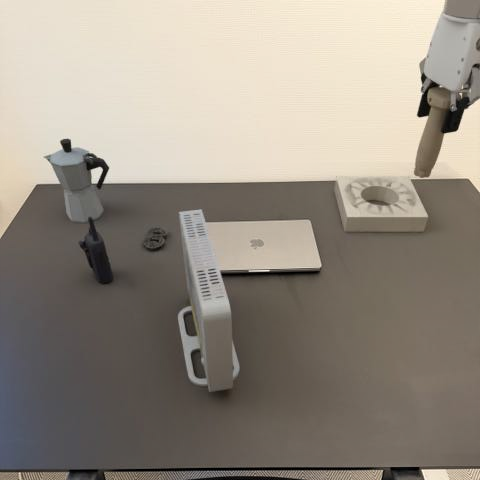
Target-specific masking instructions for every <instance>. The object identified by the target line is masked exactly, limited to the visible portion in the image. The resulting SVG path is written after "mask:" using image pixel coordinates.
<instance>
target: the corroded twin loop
mask: <svg viewBox="0 0 480 480" xmlns="http://www.w3.org/2000/svg"><path fill="white" fill-rule="evenodd" d="M145 234H146V235H147V236H146V237H144V238H143V239H142V241H141V243H142V244H143V246H144V247H146V248H147V249H149V250H151V251H152V250H153V251H155V250H157V249H159V248H162V247H163V246H164V245H165V244H164V243H165V242H166V240H165V238H166V237H167V234H168V230H167V229H166V228H164V227H162V226H154V227H150V228H149V229H147V230H146V233H145Z"/></svg>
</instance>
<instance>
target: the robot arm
mask: <svg viewBox="0 0 480 480" xmlns="http://www.w3.org/2000/svg"><path fill="white" fill-rule="evenodd" d="M429 42H430V43H429V45H428V49H427V53H426V56H425V57H424V58H423V59H421V61H420V62H419V64H418V67H419V71H420V82H421V87H420V93H421V97H420V102H419V104H418V108H417V112H416V117H418V118H419V119H421V118H424V117H428V116H429V113H430V109H431V106H430V105H429V103H428V100H427V96H428V91H429V89H430V88H433V87H444V88H446V89H448V90H449V91H451V102H450V109H447V111H446V114H445V117H444V121H443V124H442V127H441V133H443V134H444V135H445V134H450V133H455V132H457V131H459V128H460V125H461V122H462V119H463V116H464V112H465V110H468V109H469V108H470V106H472V105H474V104H475V102H477V101H478V100H480V0H444V4H443V9H442V11H441V12H440V14H439V17H438V19H437V22H436V25H435V28H434V30H433V34H432V37H431V39H430V41H429ZM458 93H459V94H461V97H462V99H461V100H459V101H458Z"/></svg>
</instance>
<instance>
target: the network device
mask: <svg viewBox="0 0 480 480" xmlns="http://www.w3.org/2000/svg"><path fill="white" fill-rule="evenodd" d="M178 217H179V226H180V227H179V228H180V235H181V243H182V244H181V245H182V252H183V253H182V254H183V261H184V271H185V279H186V280H185V281H186V287H187V294H188V299H189V303H190V305H189V306H186V307H184V308H182V309H181V310H180V311H179V313H178V315H177V320H178V321H177V322H178V327H179V333H180V339H181V343H182V349H183V350H182V351H183V355H184V360H185V361H184V362H185V366H186V367H185V368H186V372H187V376H188V379H189V381H190V382H191V383H192V384H194V385H195V386H197V387H207V388H208V389H207V390H208V392H209V393H214V392H220V391H224V390H231V389H234V381H235V380H236V378H237V377H238V376H239V374H240V363H239V359H238V356H237V352H236V349H235V344H234V341H233V320H232V319H233V318H232V317H233V316H232V310H231V305H230V301H229V298H228V294H227V291H226V287H225V284H224V281H223V280H224V279H223V276H222V273H221V270H220V267H219V263H218V261H217V257H216V254H215V250H214V246H213V243H212V239H211V236H210V233H209V229H208V226H207V222H206V219H205V216H204V213H203V209H193V210H185V211H184V210H183V211H178ZM187 314H192V316H193V317H192V318H193V323H194V327H195V332H196V335H194V336H191V335H188V334H187V331H186V326H185V325H186V324H185V320H184V316H185V315H187ZM198 351H200V355H201V357H200V362H201V366H203V369H204V374H205V377H204V378H198V377H196V375H195V372H194V367H193V361H192V354H193V353H194V352H198Z"/></svg>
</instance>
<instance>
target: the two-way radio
mask: <svg viewBox="0 0 480 480" xmlns="http://www.w3.org/2000/svg"><path fill="white" fill-rule="evenodd" d="M88 221H89V222H88V224H89V227H88V232H87V233H86V234H85V235H84V240H79V241H78V245H79V248H81V249H82V250H83V252H84V254H85V257H86V261H87V263H88V266H89V268H90V269H92V273H93V275H94V278H95V279H96V281H97V282H98V283H100V284H107V283H111V282H112V281H113V280H114V275H113V270H112V266H111V262H110V258H109V255H108V253H107V249H106V245H105V241H104V239H103V237H102V235H101V234H100V233H99V232H98V231H97V228H96V225H95V222H94V220H93V219H92V217H91V216H89V217H88Z"/></svg>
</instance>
